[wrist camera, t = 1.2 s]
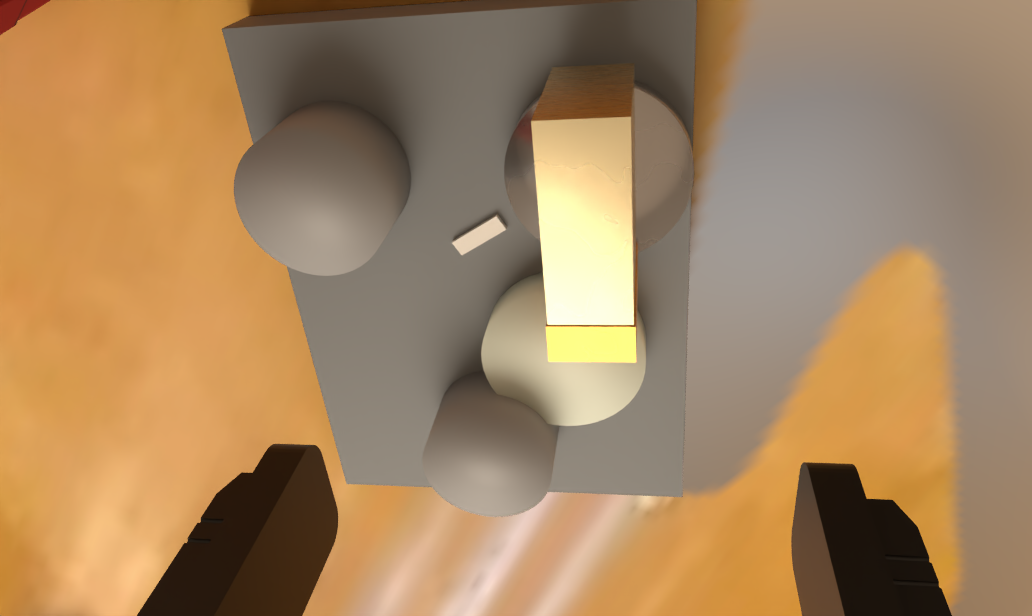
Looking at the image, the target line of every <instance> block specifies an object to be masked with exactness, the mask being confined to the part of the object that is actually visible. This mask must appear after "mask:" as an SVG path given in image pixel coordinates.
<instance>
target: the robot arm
mask: <svg viewBox="0 0 1032 616" xmlns="http://www.w3.org/2000/svg"><path fill="white" fill-rule="evenodd" d="M337 528H338V511H337V506H336V502H335V499H334V495H333V492H332V488H331V485H330V481H329V478H328V474H327V471H326V467H325V464H324V460H323V457H322V453H321V451H320V449H319V448H318V447H317V446H316V445H294V444H273V445H271V446H270V447H269V448H268V449H267V451H266V452H265V454H264V455H263V457H262V459H261V460H260V462H259V463H258V465H257V467H256V468H255V470H254V472H253V473H241V474H240V475H238V476H237V477H236V478H235V479H234V480H232V481H231V482H230V483H229V484H228V485H226V486H225V487H224V488H223V489H222V490H220V491H219V492H218V493H217V494H216V496H215V497H214V499H213V500H212V502H211V503H210V505H209V506H208V508H207V509H206V511H205V512H204V514H203V515H202V517H201V522H200V523H197V525H196V526H195V528H194V529H193V531H192V532H191V534H190V535H189V537H188V542H187V543H184V544H183V546H182V547H181V549H180V551H179V552H178V554H177V555H176V557H175V558H174V560H173V561H172V563H171V564H170V566H169V567H168V569H167V570H166V572H165V573H164V575H163V577H162V578H161V580H160V581H159V583H158V584H157V586H156V587H155V589H154V590H153V592H152V593H151V595H150V596H149V598H148V599H147V601H146V603H145V604H144V606H143V607H142V609H141V610H140V612H139V613H138V615H137V616H302V615H303V613H304V610H305V608H306V606H307V604H308V601H309V599H310V597H311V594H312V592H313V590H314V588H315V585H316V583H317V581H318V579H319V576H320V574H321V572H322V570H323V567H324V565H325V563H326V561H327V558H328V556H329V554H330V552H331V549H332V547H333V545H334V542H335V539H336V534H337ZM792 562H793V570H794V575H795V580H796V585H797V591H798V596H799V601H800V606H801V611H802V616H952V615H951V612H950V610H949V607H948V605H947V602H946V599H945V597H944V594H943V592H942V589H941V588H939V581H938V579H937V576H936V573H935V571H934V568H933V566H932V563H930V562H929V555H928V553H927V550H926V548H925V545H924V542H923V540H922V537H921V535H920V532H919V530H918V527H917V526H916V525H915V524H914V523H913V521H912V520H911V519H910V518H909V517H908V516H907V515H906V514H905V513H904V512H903V511H902V510H901V509H900V507H899V506H898V505H897V504H896V503H895V502H894V501H893V500H881V499H866V496H865V493H864V490H863V487H862V484H861V480H860V477H859V474H858V472H857V469H856V467H855V466H854V465H853V464H835V463H802V465H801V469H800V475H799V482H798V490H797V497H796V505H795V512H794V520H793V527H792Z"/></svg>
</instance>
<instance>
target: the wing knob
mask: <svg viewBox="0 0 1032 616" xmlns="http://www.w3.org/2000/svg"><path fill="white" fill-rule="evenodd" d="M693 180H694V162H693V154H692V148H691V143H690V138H689V135H688V132H687V129H686V127H685V125H684V123H683V121H682V119H681V117H680V116H679V114H678V113H677V111H676V110H675V108H674V107H673V106H672V105H671V104H670V103H669V102H668V101H667V100H666V98H664V97H663V96H662V95H661V94H659V93H658V92H657V91H656V90H654V89H653V88H651V87H649V86H648V85H646V84H644V83H642V82H640V81H637V80H635V79H634V63H623V64H605V65H587V66H568V67H552V70H551V72H550V75H549V77H548V80H547V82H546V85H545V87H544V90H543V92H542V94H540V95H539V96H538V97H537V98H536V99H535V100H534V101H533V102H532V103H531V104H530V105H529V106H528V108H527V109H526V110H525V112H524V113H523V114H522V116H521V118H520V120H519V121H518V123H517V125H516V127H515V130H514V132H513V134H512V136H511V139H510V142H509V144H508V147H507V151H506V155H505V163H504V181H505V186H506V192H507V195H508V198H509V201H510V204H511V206H512V208H513V210H514V212H515V214H516V215H517V217H518V218H519V220H520V222H521V223H522V224H523V225H524V226H525V228H526V229H527V230H528V231H529V232H530V233H531V234H532V235H533V236H534V237H535V238H537V239H538V240H539V241H541V250H542V263H543V275H544V287H545V299H546V312H547V323H546V337H547V349H548V361H549V362H636V343H637V300H638V252H641V251H643V250H645V249H647V248H649V247H650V246H652V245H653V244H655V243H656V242H658V241H659V240H660V239H662V238H663V237H664V236H665V235H666V234H667V233H668V232H669V231H670V230H671V229H672V228H673V227H674V226H675V224H676V223H677V222H678V220H679V219H680V217H681V216H682V214H683V212H684V210H685V209H686V206H687V204H688V201H689V199H690V195H691V191H692V187H693Z"/></svg>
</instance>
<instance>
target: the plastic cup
mask: <svg viewBox="0 0 1032 616" xmlns="http://www.w3.org/2000/svg"><path fill="white" fill-rule="evenodd" d="M49 1H50V0H0V35H1V34H2V33H4V32H6V31H7V30H9V29H10V28H12V27H14V26H15V25H16V23H17V21H18V20H20V19H21V18H23V17H25V16H26V15H28V14H29V13H31V12H33V11H34V10H36V9H38V8H39V7H41V6H42V5H44V4H45V3H47V2H49Z"/></svg>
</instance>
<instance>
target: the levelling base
mask: <svg viewBox="0 0 1032 616" xmlns="http://www.w3.org/2000/svg"><path fill="white" fill-rule="evenodd" d="M696 12H697V0H471V1H457V2H443V3H429V4H415V5H401V6H386V7H372V8H358V9H344V10H330V11H316V12H301V13H287V14H273V15H259V16H248V17H246V18H244V19H242V20H240V21H237V22H235V23H233V24H231V25H229V26H227V27H225V28H222V32H223V35H224V39H225V43H226V46H227V50H228V53H229V57H230V61H231V64H232V68H233V72H234V75H235V79H236V83H237V86H238V90H239V93H240V97H241V101H242V104H243V108H244V112H245V115H246V119H247V123H248V126H249V130H250V134H251V137H252V141H253V144H254V145H252V146H251V147H250V148H249V149H248V150H247V152H246V153H245V154H244V155H243V157H242V159H241V161H240V163H239V165H238V168H237V170H236V174H235V180H234V196H235V202H236V207H237V210H238V213H239V216H240V218H241V220H242V222H243V224H244V226H245V228H246V229H247V231H248V233H249V234H250V236H251V237H252V238H253V239H254V241H255V242H256V243H257V244H258V245H259V246H260V247H261V248H262V249H263V250H264V251H265V252H266V253H268V254H269V255H270V256H271V257H273V258H274V259H276V260H277V261H279V262H280V263H282V264H284V265H286V266H287V268H288V272H289V276H290V279H291V283H292V286H293V290H294V294H295V297H296V301H297V305H298V308H299V312H300V316H301V319H302V323H303V327H304V330H305V334H306V337H307V341H308V345H309V348H310V352H311V356H312V359H313V363H314V367H315V370H316V374H317V377H318V381H319V385H320V388H321V392H322V396H323V399H324V403H325V407H326V410H327V414H328V418H329V421H330V425H331V428H332V432H333V436H334V439H335V443H336V447H337V450H338V454H339V458H340V461H341V465H342V469H343V472H344V476H345V479H346V483H347V484H363V485H389V486H414V487H432V488H433V489H434V490H435V491H436V492H437V493H438V494H439V495H440V496H441V497H442V498H443V499H445V500H446V501H447V502H449V503H450V504H452V505H454V506H456V507H458V508H460V509H462V510H464V511H467V512H469V513H473V514H477V515H482V516H489V517H505V516H512V515H517V514H520V513H523V512H525V511H527V510H529V509H531V508H533V507H534V506H536V505H537V504H538V503H539V502H540V501H541V500H542V499H543V498H544V497H545V495H546V494H547V492H567V493H592V494H618V495H643V496H669V497H683V462H684V461H683V460H684V426H685V393H686V358H687V324H688V323H687V322H688V289H689V254H690V220H691V195H690V199H689V201H688V204H687V206H686V209H685V210H684V212H683V214H682V216H681V217H680V219H679V220H678V222H677V223H676V224H675V226H674V227H673V228H672V229H671V230H670V231H669V232H668V233H667V234H666V235H665V236H664V237H663V238H662V239H660V240H659V241H658V242H656V243H655V244H653V245H652V246H650V247H649V248H647V249H645V250H643V251H641V252H638V300H637V343H636V362H549V361H548V349H547V337H546V323H547V312H546V299H545V287H544V275H543V263H542V250H541V241H539V240H538V239H537V238H535V237H534V236H533V235H532V234H531V233H530V232H529V231H528V230H527V229H526V228H525V226H524V225H523V224H522V223H521V222H520V220H519V218H518V217H517V215H516V214H515V212H514V210H513V208H512V206H511V204H510V201H509V198H508V195H507V192H506V186H505V181H504V163H505V155H506V151H507V147H508V144H509V142H510V139H511V136H512V134H513V132H514V130H515V127H516V125H517V123H518V121H519V120H520V118H521V116H522V114H523V113H524V112H525V110H526V109H527V108H528V106H529V105H530V104H531V103H532V102H533V101H534V100H535V99H536V98H537V97H538V96H539V95H540V94H542V92H543V90H544V87H545V85H546V82H547V80H548V77H549V75H550V72H551V70H552V67H568V66H587V65H605V64H623V63H634V79H635V80H637V81H640V82H642V83H644V84H646V85H648V86H649V87H651V88H653V89H654V90H656V91H657V92H658V93H659V94H661V95H662V96H663V97H664V98H666V100H667V101H668V102H669V103H670V104H671V105H672V106H673V107H674V108H675V110H676V111H677V113H678V114H679V116H680V117H681V119H682V121H683V123H684V125H685V127H686V129H687V132H688V135H689V138H690V143H691V148H692V151H693V116H694V81H695V47H696Z"/></svg>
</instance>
